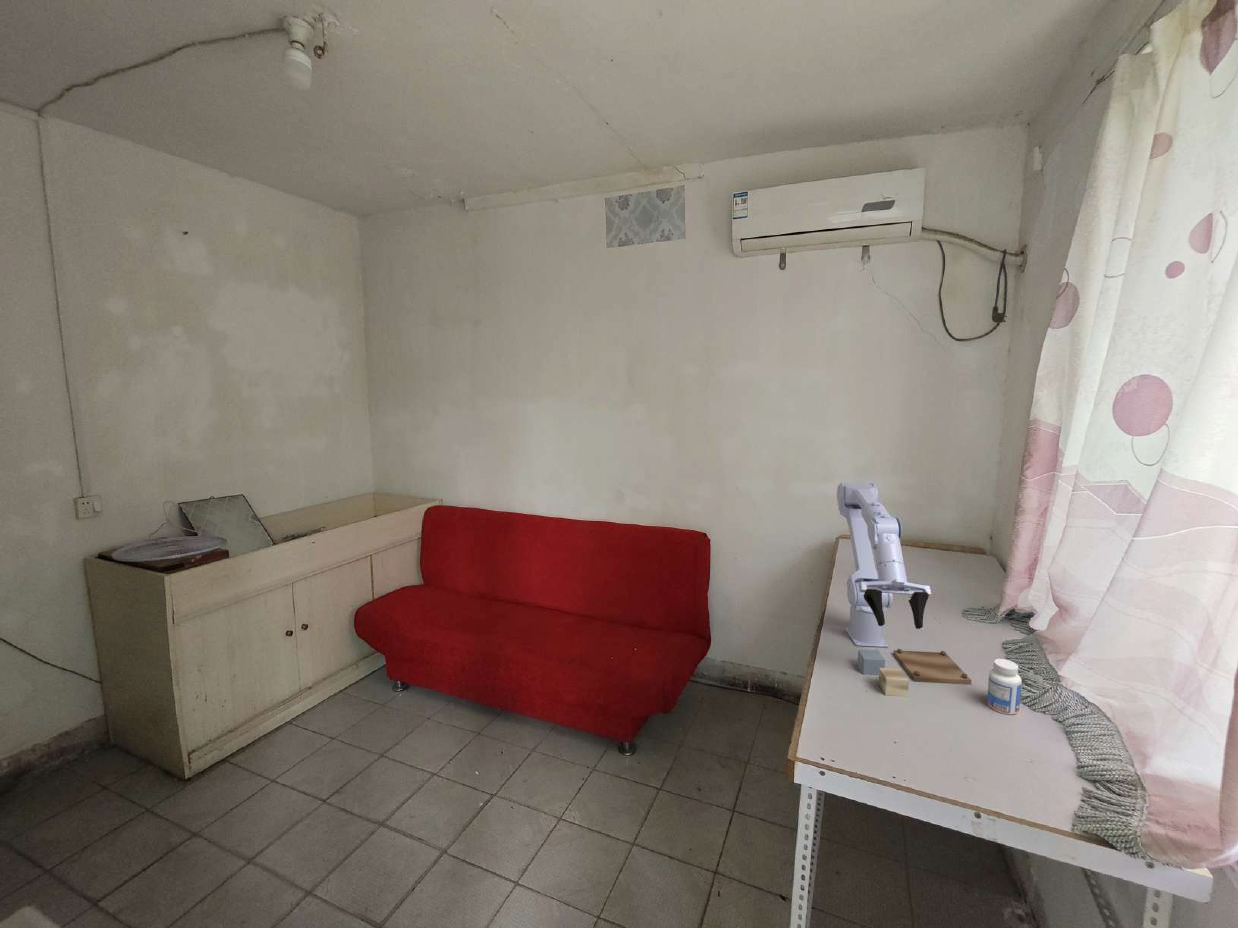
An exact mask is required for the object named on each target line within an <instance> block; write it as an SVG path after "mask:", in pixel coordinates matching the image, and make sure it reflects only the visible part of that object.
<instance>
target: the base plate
mask: <svg viewBox="0 0 1238 928" xmlns="http://www.w3.org/2000/svg"><path fill="white" fill-rule="evenodd" d="M892 652H893V655H894V657H895V659H896V660H897V661H898V663H900V665H901V666H902V668H903V669H904V671H906V672H907V674H908V675H909V677H910V678H911V679H912V681H913V682H922V683H938V684H939V683H941V684H957V685H959V684H960V685H972V681H973V680H972V678H970V677H969V675H968V674H966V673H965V671H963V669H962V668H960V667H959V665H958V664H957V663H956V662H955V661H954V660H953V659H952V658H951V657H950V656H949V655H948V654H947V652H946V651H944V650H940V651H939V652H937V651H918V650H917V651H915V650H902V649H901V648H897V650H895V649H893V651H892Z"/></svg>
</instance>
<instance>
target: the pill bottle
mask: <svg viewBox="0 0 1238 928" xmlns="http://www.w3.org/2000/svg"><path fill="white" fill-rule="evenodd" d="M1018 673H1019V666H1018V664H1017V663H1016V662H1013V661H1012V660H1009V659H1006V658H996V659H995V660H994V661H993V668H992V669H990V670H989V673H988V682H987V696H986V703H987V705H988V706H989V707H990V708H991V709H993V710H994V711H996V712H998V713H1001V714H1004V715H1017V714H1018V713H1019V712H1020V705H1021V695H1022V682H1023V680H1022V678H1021V676H1020V675H1019V674H1018Z"/></svg>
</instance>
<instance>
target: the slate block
mask: <svg viewBox="0 0 1238 928" xmlns="http://www.w3.org/2000/svg"><path fill="white" fill-rule="evenodd" d="M857 666H858V668H859V669H860V671H861V673H862V674H863V675H864V676H865V675H866V676H879V668H886V667H885V666H886V659H885V657H883V655H882V654H881V652H880V651H879V650H878V649H861V648H860V649H858V651H857Z"/></svg>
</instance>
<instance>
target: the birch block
mask: <svg viewBox="0 0 1238 928" xmlns="http://www.w3.org/2000/svg"><path fill="white" fill-rule="evenodd" d="M877 682H878V685H879V688H880V689H881V691H882V692H883V694H884V695H885V696H886V697H887V696H888V697H902V698H903V697H904V698H905V697H906V698H908V697H909V684H910V679H908V677H907V676H906V674H905V673H904V671H903V670H902V669H901V668H891V667H890V668H889V667H885V668H879V675H878V679H877Z"/></svg>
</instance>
